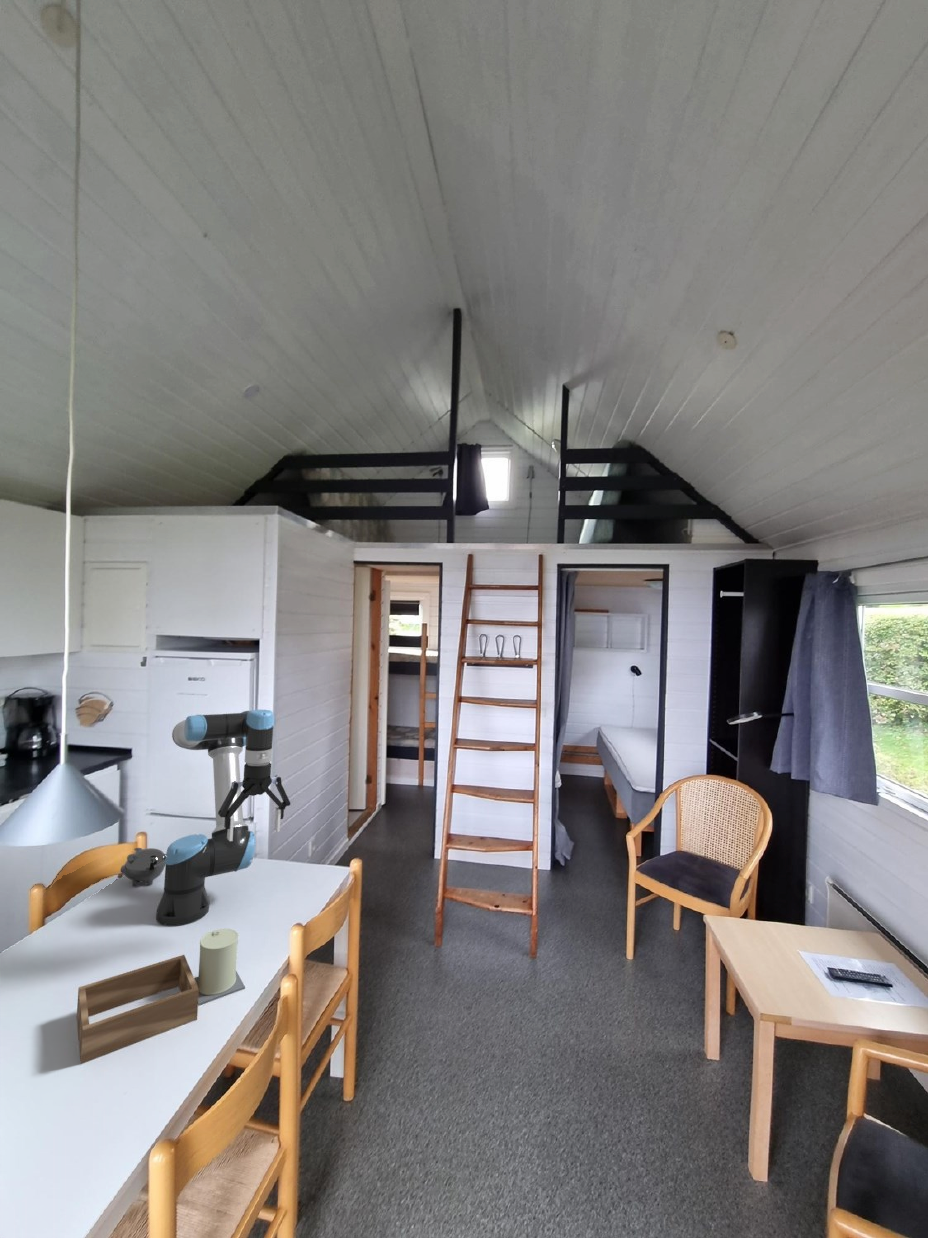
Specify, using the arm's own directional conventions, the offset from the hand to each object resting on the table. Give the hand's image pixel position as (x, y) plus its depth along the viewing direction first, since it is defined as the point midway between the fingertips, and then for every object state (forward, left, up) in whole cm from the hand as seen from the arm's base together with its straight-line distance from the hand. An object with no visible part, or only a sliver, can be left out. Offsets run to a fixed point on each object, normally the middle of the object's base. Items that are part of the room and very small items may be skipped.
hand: (254, 835), depth 157 cm
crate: (+16, -30, -32) cm, 46 cm away
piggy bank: (-58, -19, -32) cm, 69 cm away
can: (+14, -12, -31) cm, 36 cm away
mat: (+14, -12, -32) cm, 37 cm away
